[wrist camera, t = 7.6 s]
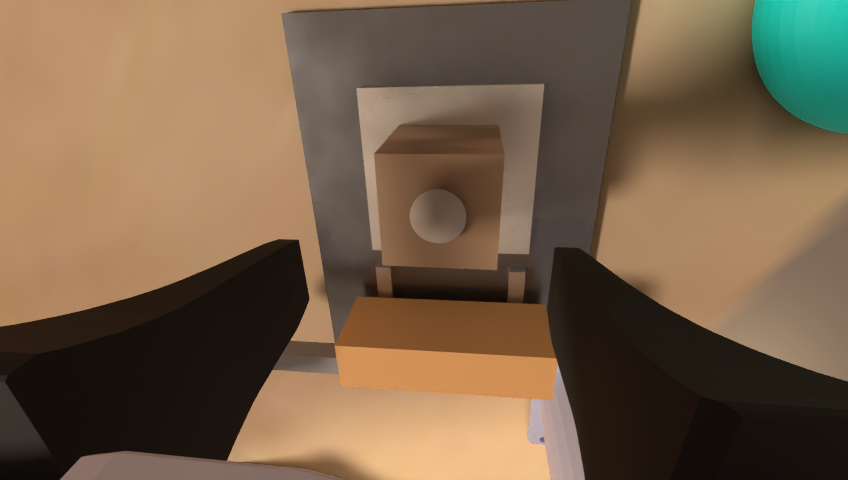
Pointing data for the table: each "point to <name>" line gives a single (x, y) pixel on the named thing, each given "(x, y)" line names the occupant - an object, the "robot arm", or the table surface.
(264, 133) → the table surface
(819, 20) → the donuts
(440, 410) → the table surface
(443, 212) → the block
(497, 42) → the frame
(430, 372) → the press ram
